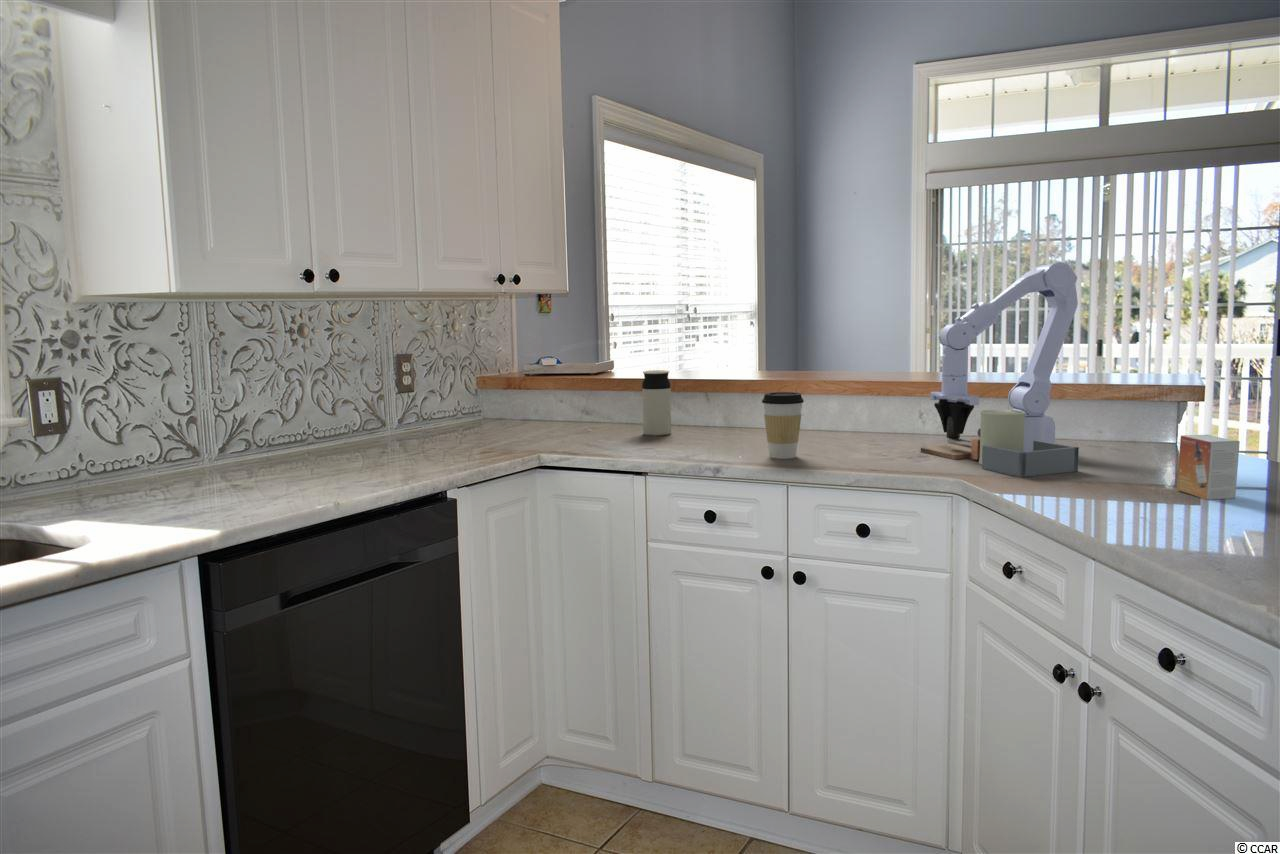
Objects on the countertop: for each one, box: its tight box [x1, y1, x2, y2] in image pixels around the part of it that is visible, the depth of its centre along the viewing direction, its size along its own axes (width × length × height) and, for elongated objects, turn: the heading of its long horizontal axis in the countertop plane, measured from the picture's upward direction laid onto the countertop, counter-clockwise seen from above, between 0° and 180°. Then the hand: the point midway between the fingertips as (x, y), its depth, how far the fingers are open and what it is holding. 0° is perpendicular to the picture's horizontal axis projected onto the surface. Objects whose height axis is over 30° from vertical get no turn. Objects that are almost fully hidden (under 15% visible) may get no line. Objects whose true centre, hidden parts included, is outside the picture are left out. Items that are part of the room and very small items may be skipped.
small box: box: [1176, 434, 1240, 501], centre depth 161 cm, size 8×6×10 cm
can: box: [978, 409, 1025, 466], centre depth 196 cm, size 9×9×12 cm
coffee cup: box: [761, 391, 805, 460], centre depth 212 cm, size 10×10×15 cm
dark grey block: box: [946, 415, 981, 461], centre depth 206 cm, size 5×13×9 cm, turn 21°
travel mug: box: [641, 369, 672, 437], centre depth 254 cm, size 8×8×18 cm
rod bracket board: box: [920, 444, 972, 460], centre depth 211 cm, size 10×12×1 cm
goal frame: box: [981, 440, 1080, 478], centre depth 189 cm, size 15×11×5 cm
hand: (953, 432), depth 211 cm, fingers closed on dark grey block, 3 cm apart
